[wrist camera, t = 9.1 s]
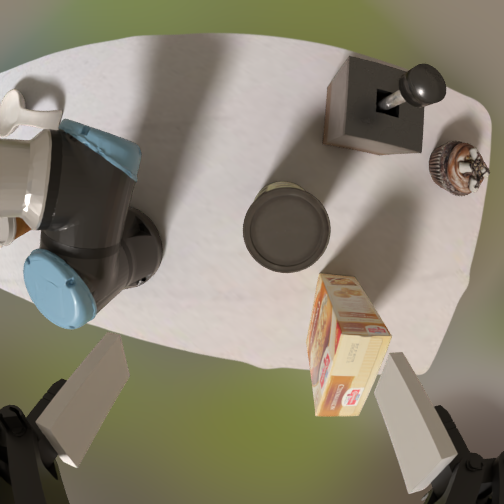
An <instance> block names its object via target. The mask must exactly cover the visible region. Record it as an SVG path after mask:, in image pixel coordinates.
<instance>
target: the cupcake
mask: <svg viewBox="0 0 504 504" xmlns="http://www.w3.org/2000/svg"><path fill="white" fill-rule="evenodd" d="M485 166H486V167H485ZM429 171H430V174H431V177H432V179H433V181H434V182H435V183H436V184H437V185H439V186H440V187H441V188H443V189H445V190H447V191H449V192H450V193H451V194H453V195H455V196H456V195H457V196H465V195H468V194H469V193H471V192H473V193H475V192H477V191H478V188H479V186H480V185H481V183H482V181H483V179H484V177H488V176H489V174H490V172H489V168H488V167H487V165H486V164H485V162H484V161H483V158H482V156H481V155H480V153H479V152H478V150H477V148H474V147H473V146H472V145H470V144H468V143H462V142H460V141H458V142H457V141H454V142H453V141H452V142H448V143H447V144H445V145H443V146H440V147H438V148H436V149H435V150H434V152H433V153H432V154H431V156H430V160H429Z"/></svg>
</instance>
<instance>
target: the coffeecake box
mask: <svg viewBox="0 0 504 504" xmlns="http://www.w3.org/2000/svg"><path fill="white" fill-rule="evenodd" d="M391 338H392V335H391V334H390V332H389V331H388V329H387V327H386V326H385V324H384V322H383V321H382V319H381V318H380V316H379V314H378V313H377V311H376V309H375V308H374V306H373V305H372V303H371V301H370V300H369V298H368V297H367V295H366V293H365V292H364V290H363V289H362V287H361V286H360V284H359V283H358V281H357V279H356V278H355V277H350V276H340V275H332V274H322V273H319V277H318V282H317V288H316V293H315V299H314V304H313V309H312V315H311V320H310V325H309V330H308V335H307V341H306V344H307V351H308V357H309V365H310V372H311V379H312V388H313V396H314V404H315V416H358V415H359V413H360V411H361V409H362V407H363V405H364V403H365V401H366V399H367V397H368V395H369V392H370V390H371V388H372V386H373V383H374V381H375V379H376V376H377V374H378V371H379V369H380V367H381V364H382V362H383V359H384V356H385V354H386V351H387V349H388V346H389V343H390V340H391Z"/></svg>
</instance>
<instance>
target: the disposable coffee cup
mask: <svg viewBox="0 0 504 504" xmlns="http://www.w3.org/2000/svg"><path fill="white" fill-rule="evenodd" d="M30 230H32V229H31V228H30V227H29V226H28V225H27V224H26V222H25V221H24V220H23V219H22V218H20V217H4V218H0V245H4V246H8V245H10V244H11V243H12V241H13V240H15V239H16V238H18V237H19V236H21V235H23V234H25V233H26V232H28V231H30Z"/></svg>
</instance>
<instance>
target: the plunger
mask: <svg viewBox="0 0 504 504" xmlns="http://www.w3.org/2000/svg"><path fill="white" fill-rule="evenodd" d="M398 85H399V90H398V91H396V92H394V93H393V94H391V95H389V96H387V97H386V98H384V99H382V100H380V101H377V100H376V112H379V113H382V114H385V111H386V110H388V109H391V108H393V107H395V106H397V105H400V104H402V103H404V102H407V103H409V104H410V105H412V106H414V107H424V106H427V105H430V104H433V103H436V102H439V101H441V100H443V99H444V97H445V95H446V84H445V81H444V79H443V77H442V76H441V74H440V73H439V72H438V71H437V70H436V69H435V68H434V67H432V66H430V65H428V64H419V65H417V66H415V67H414V68H412V69H411V70H409V71H407V72H406V73H404V74H403V75H402V76H401V77H400V79H399V84H398Z"/></svg>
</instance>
